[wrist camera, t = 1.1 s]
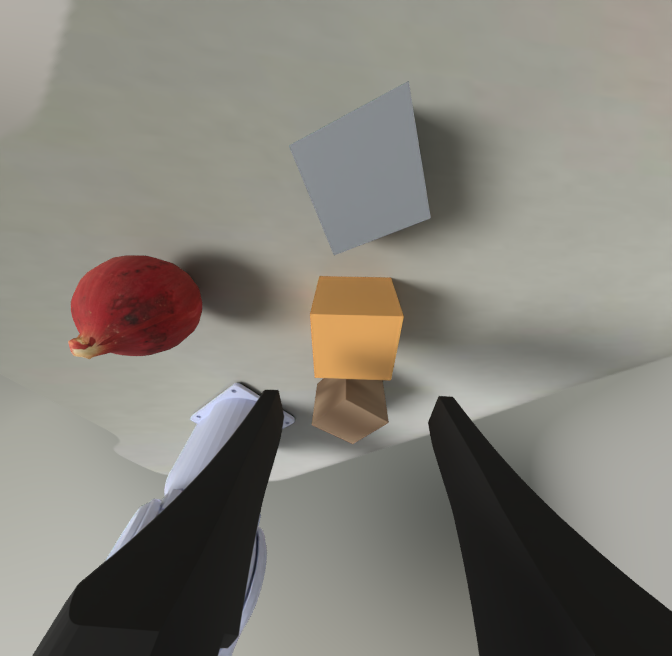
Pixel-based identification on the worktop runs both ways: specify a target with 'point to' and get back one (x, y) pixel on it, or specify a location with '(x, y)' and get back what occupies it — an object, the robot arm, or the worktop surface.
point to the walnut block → (350, 407)
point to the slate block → (365, 171)
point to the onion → (134, 307)
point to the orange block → (355, 327)
